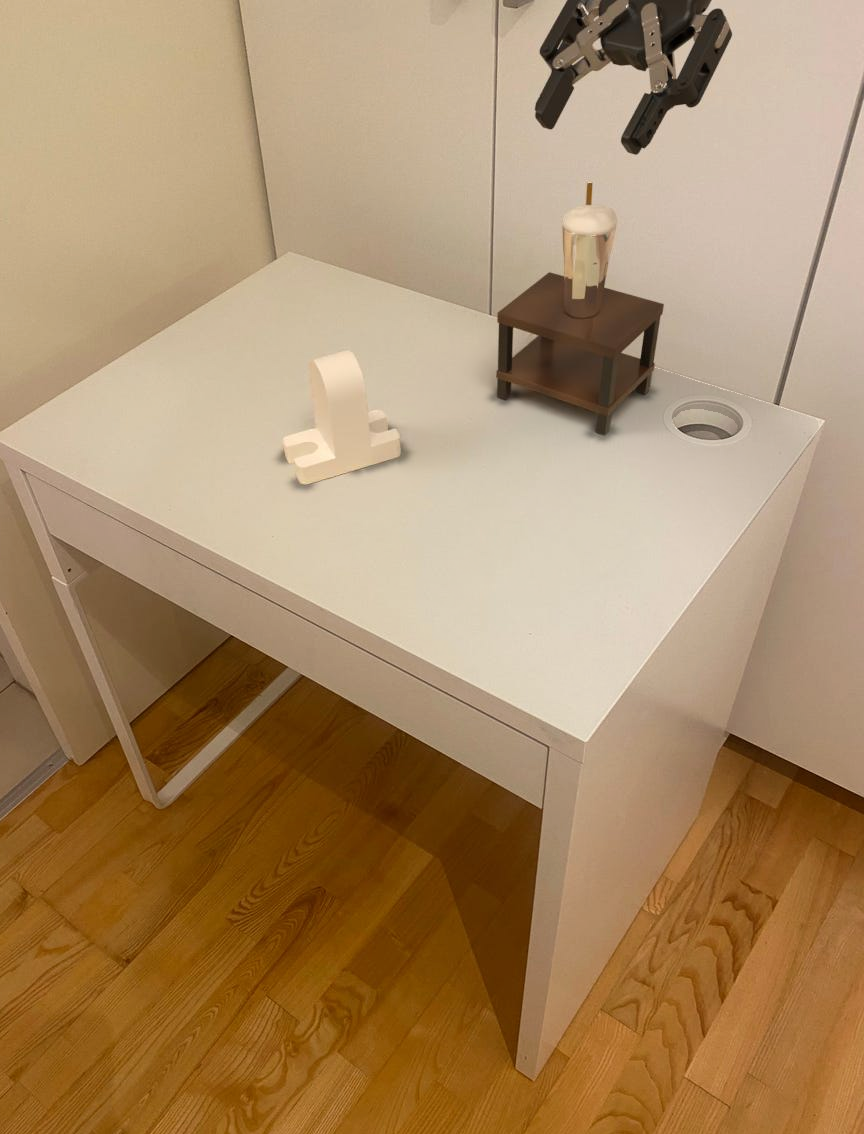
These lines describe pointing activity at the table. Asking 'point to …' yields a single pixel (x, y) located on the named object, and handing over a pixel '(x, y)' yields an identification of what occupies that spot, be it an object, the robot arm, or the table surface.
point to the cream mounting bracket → (340, 424)
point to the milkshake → (586, 256)
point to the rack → (578, 348)
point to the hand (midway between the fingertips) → (584, 136)
